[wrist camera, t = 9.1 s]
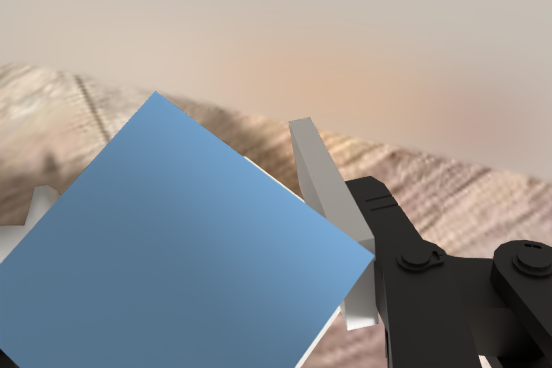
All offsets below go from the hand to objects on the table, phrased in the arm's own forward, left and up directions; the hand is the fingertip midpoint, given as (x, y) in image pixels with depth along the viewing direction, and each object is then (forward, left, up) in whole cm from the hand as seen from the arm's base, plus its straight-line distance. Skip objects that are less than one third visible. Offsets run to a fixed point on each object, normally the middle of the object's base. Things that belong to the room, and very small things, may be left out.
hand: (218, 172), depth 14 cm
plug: (+3, -2, -4) cm, 5 cm away
